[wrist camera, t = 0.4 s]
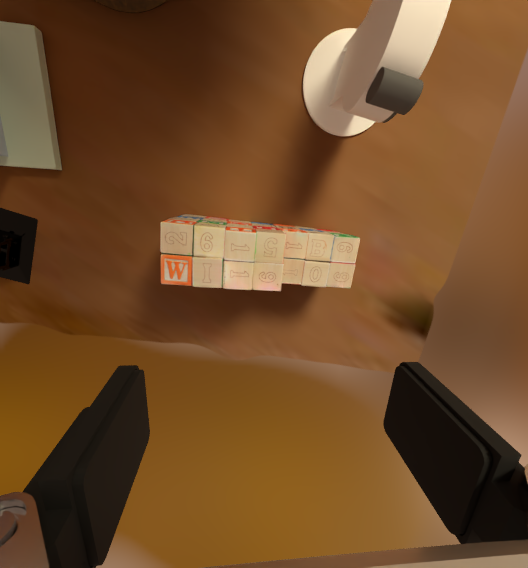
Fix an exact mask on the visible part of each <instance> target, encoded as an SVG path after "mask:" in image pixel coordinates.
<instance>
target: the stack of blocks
mask: <svg viewBox="0 0 528 568" xmlns="http://www.w3.org/2000/svg"><path fill="white" fill-rule="evenodd" d="M359 243H360V238H359V237H356V236H353V235H348V234H344V233H340V232H337V231H333V230H322V229H314V228H308V227H299V226H290V225H281V224H267V223H258V222H247V221H238V220H229V219H224V218H215V217H207V216H200V215H191V214H183V215H180V216H178V217H173V218H169V219H168V220H164V221H161V244H160V251H161V253H162V254H161V284H171V285H186V286H191V285H192V286H194V287H209V288H222V287H223V288H224V289H238V290H252V289H253V290H265V291H281V284H282V283H284V284H298V285H302V286H314V287H326V286H328V287H340V288H350V287H351V283H352V278H353V273H354V269H355V261H356V257H357V252H358V247H359Z"/></svg>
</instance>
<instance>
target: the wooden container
mask: <svg viewBox="0 0 528 568" xmlns="http://www.w3.org/2000/svg"><path fill="white" fill-rule="evenodd" d="M95 1H97V2H98V3H100V4H102V5H104V6H107V7H109V8H112V9H115V10H118V11H123V12H144V11H148V10H150V9H153V8H155V7H157V6H159V5H161V4H162V3H164V2H165V1H166V0H95Z"/></svg>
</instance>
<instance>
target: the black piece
mask: <svg viewBox="0 0 528 568" xmlns="http://www.w3.org/2000/svg"><path fill="white" fill-rule="evenodd" d="M37 222H38V220H37V219H35V218H31V217H28V216H25V215H22V214H19V213H15V212H12V211H9V210H6V209H3V208H0V277H2V278H6V279H10V280H14V281H18V282H22V283H26V284H29V283H30V275H31V268H32V260H33V252H34V245H35V237H36V230H37Z"/></svg>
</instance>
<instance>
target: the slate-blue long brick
mask: <svg viewBox="0 0 528 568" xmlns="http://www.w3.org/2000/svg"><path fill="white" fill-rule="evenodd" d="M0 156H6V157H9V156H8V151H7V146H6V141H5V136H4V131H3V126H2V121H1V116H0Z"/></svg>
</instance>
